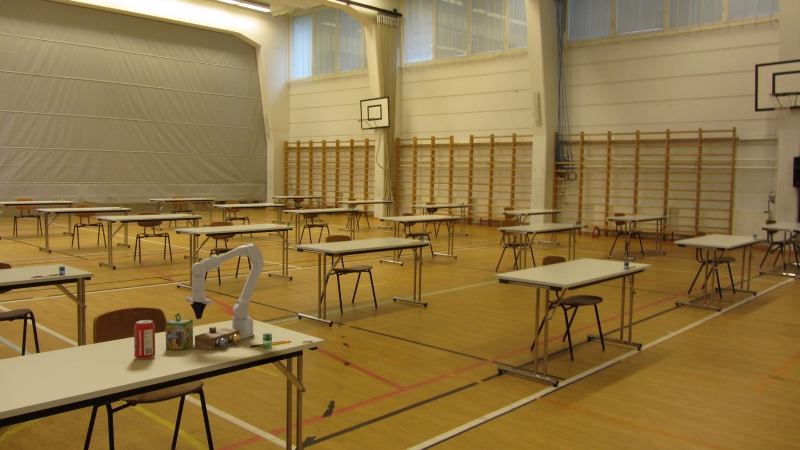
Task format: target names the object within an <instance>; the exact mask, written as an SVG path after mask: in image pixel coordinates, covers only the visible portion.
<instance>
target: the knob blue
mask: <svg viewBox="0 0 800 450" xmlns="http://www.w3.org/2000/svg"><path fill="white" fill-rule="evenodd" d="M227 344H228V340H227V339H225V338H220V339H217V338H216V339H215V345H218V346H219V347H221V348H226V347H228V346H227Z"/></svg>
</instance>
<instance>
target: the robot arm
mask: <svg viewBox="0 0 800 450" xmlns="http://www.w3.org/2000/svg"><path fill="white" fill-rule="evenodd" d="M237 257H248V258H249V260H250V262H251V264H252V266H251V268H250V271H249V273H248V276H247V278H246V281H245V284H244V286H243V289H242V291H241V294H240V295H239V298H238V299H237V301H236V302H235V303H234V304H233V306H232V313H233V314H234V315H233V316H232V321H231V322H232V323H231V324H232V325H231V326H232V328H231V329H236V330H240V337H241V340H243V339H247V338H251V337H253V335H254V336H255V334H254V321H253V318H252V317H251V316H249V307H250V303H251V299H252V296H253V294H254V292H255V288H256V287H257V283H258V282H259V278H260V276H261V274H262V271H263V268H264V266H265V263H264V258H263V252H262V250H261V249H260V247H259V246H258V245H257V244H255V243H246V244H244V245H240V246H238V247H236V248H233V249H232V250H230V251H227V252H225V253H223V254H221V255H217V254H215V255H212V254H211V255H210V256H209V257H208V258H205V259H201V260H199V262H195V263H193V264H192V266H191V269H190V271H191V273H192V274H191V278H192V279H191V296H188V297H185V302H186V303H188V302H189V303H191V304H190V307H191V308H192V310H193V312H194V315H195V318H196V320H201V319H203V318H202V317H203V314H204V311H205V309H206V307H207V306H208V305H209V306H210V305H213V300H212V299H209V298H206V279H205V274H206V273H209V272H212V271H213V270H216V269H218V268H220V267H221V266H222V264H223V263H225V262H227V261H229V260H232V259H234V258H237Z"/></svg>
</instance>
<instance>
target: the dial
mask: <svg viewBox="0 0 800 450" xmlns="http://www.w3.org/2000/svg"><path fill="white" fill-rule="evenodd" d="M216 330H217V327H216V326H211V327H209V328H208V332H209V333H215V332H216Z"/></svg>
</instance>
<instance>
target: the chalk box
mask: <svg viewBox="0 0 800 450" xmlns="http://www.w3.org/2000/svg"><path fill="white" fill-rule="evenodd" d="M174 317H175V319H171V320H169V321H167V322H165V323H164V324H165V350H187V349H189V348H191V347H192V346H194V321H193V319H185V318H181V315H180V313H179V312H177V313H176V314H174Z"/></svg>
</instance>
